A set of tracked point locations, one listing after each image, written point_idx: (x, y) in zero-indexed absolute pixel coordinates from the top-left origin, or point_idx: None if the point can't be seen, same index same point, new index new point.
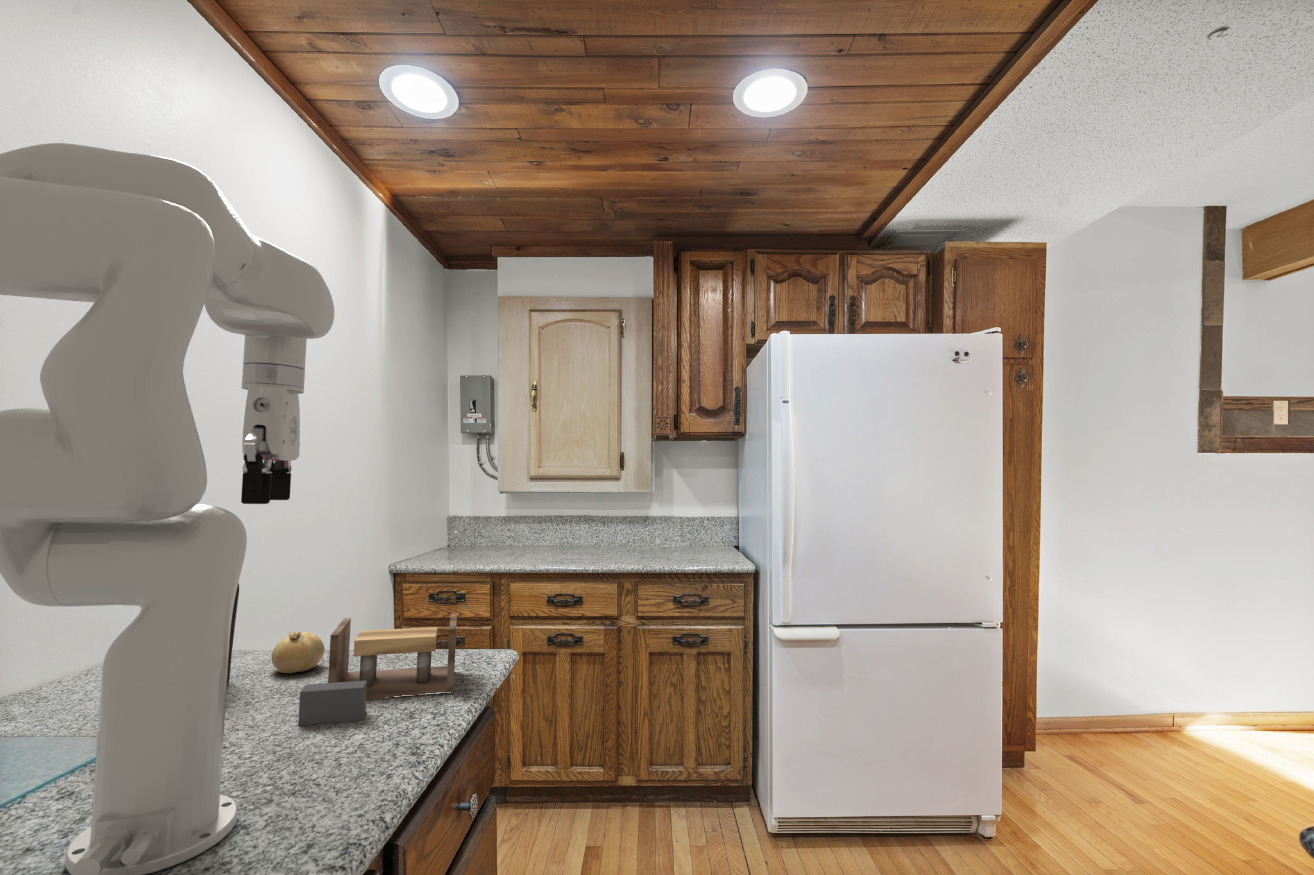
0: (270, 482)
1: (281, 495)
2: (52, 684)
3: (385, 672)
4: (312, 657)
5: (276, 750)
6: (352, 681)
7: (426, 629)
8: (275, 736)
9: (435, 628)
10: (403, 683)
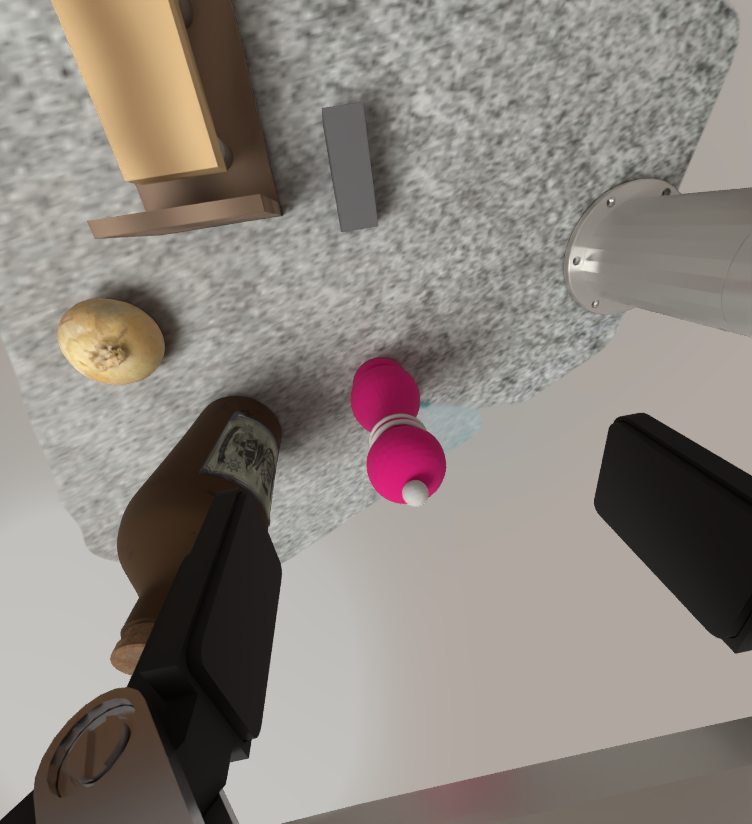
0: (746, 482)
1: (257, 528)
2: None
3: None
4: (130, 307)
5: (450, 221)
6: (328, 140)
7: None
8: (405, 243)
9: None
10: (198, 64)
